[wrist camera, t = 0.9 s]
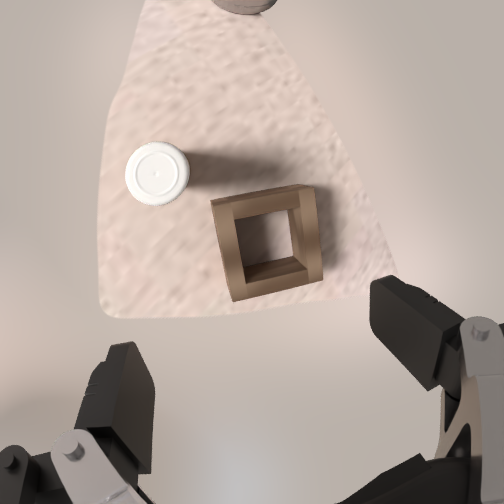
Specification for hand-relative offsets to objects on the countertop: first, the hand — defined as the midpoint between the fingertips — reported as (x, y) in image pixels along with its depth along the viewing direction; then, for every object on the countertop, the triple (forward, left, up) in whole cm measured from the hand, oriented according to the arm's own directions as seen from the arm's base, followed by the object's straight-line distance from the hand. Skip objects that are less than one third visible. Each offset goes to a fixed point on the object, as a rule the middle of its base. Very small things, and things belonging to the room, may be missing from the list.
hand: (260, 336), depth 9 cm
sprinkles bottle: (-6, -4, -26) cm, 27 cm away
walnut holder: (+4, +5, -26) cm, 27 cm away
